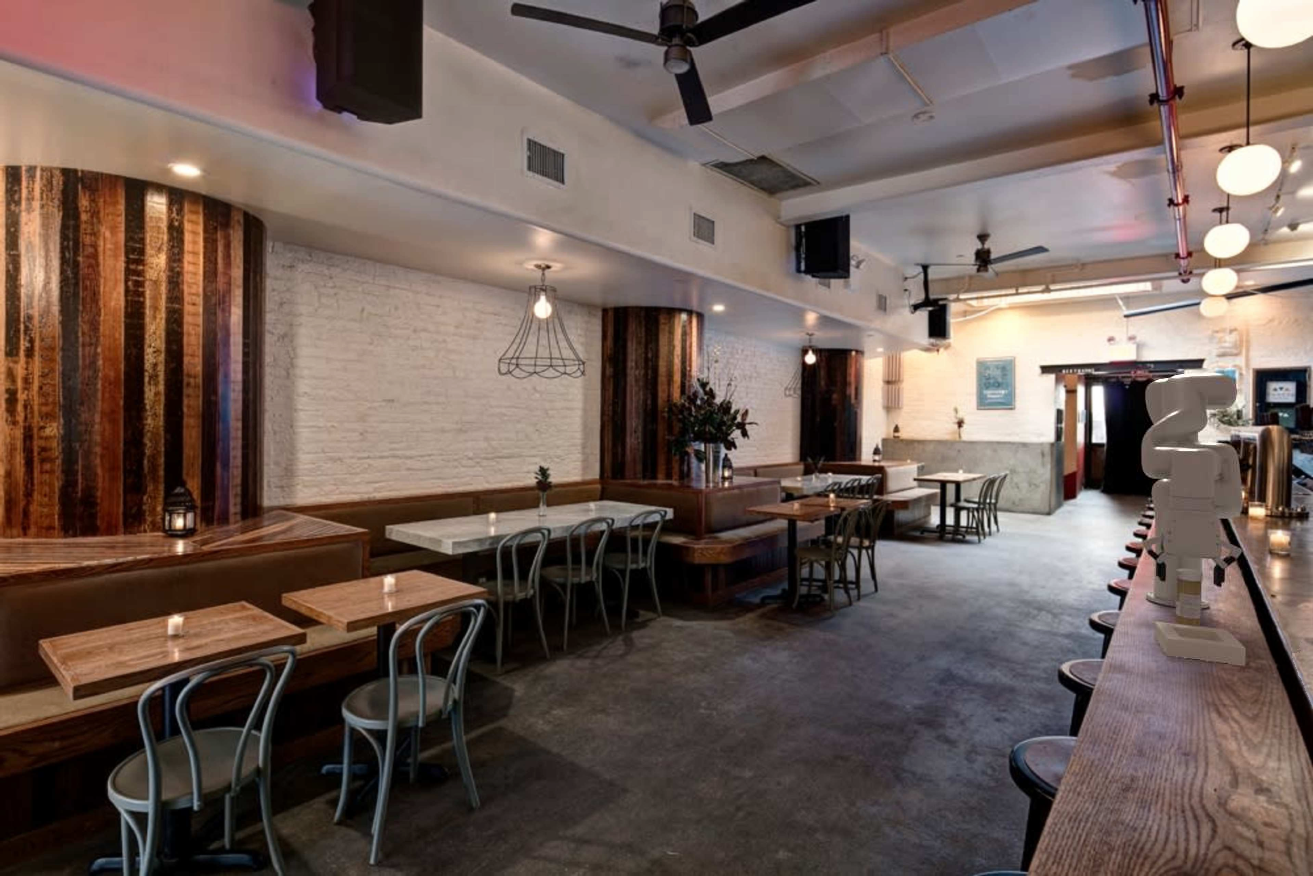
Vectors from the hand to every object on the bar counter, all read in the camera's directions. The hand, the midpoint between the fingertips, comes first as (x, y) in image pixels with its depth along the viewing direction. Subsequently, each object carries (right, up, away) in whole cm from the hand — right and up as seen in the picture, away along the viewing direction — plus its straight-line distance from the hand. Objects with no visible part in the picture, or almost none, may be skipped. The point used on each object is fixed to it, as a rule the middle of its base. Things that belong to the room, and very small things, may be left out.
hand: (1189, 582), depth 145 cm
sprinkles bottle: (0, -11, +1) cm, 11 cm away
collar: (-8, -11, -12) cm, 18 cm away
